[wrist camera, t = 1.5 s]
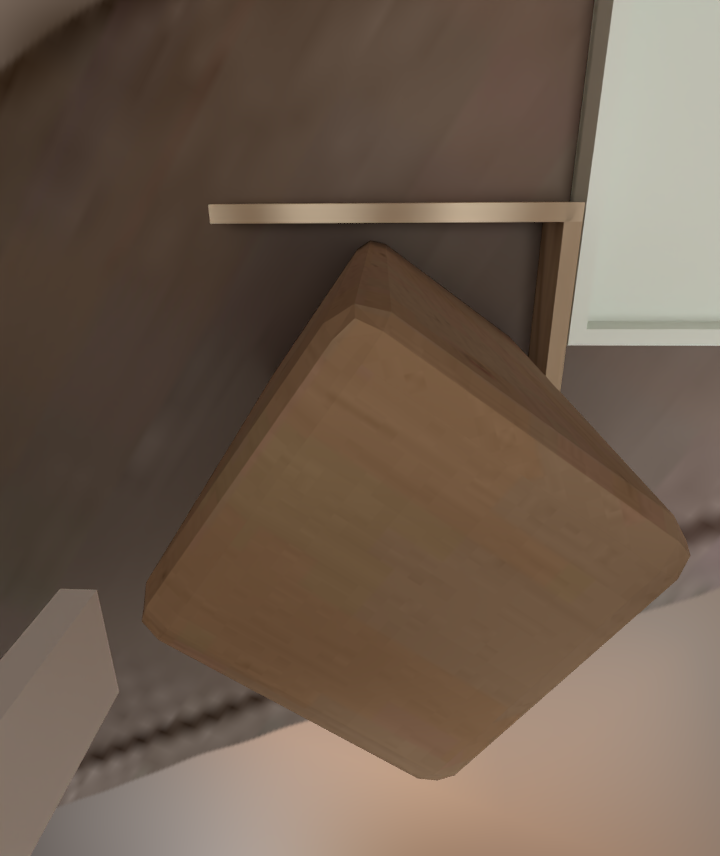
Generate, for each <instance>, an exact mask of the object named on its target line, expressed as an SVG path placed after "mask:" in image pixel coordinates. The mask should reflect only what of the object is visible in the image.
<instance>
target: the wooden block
mask: <svg viewBox="0 0 720 856" xmlns="http://www.w3.org/2000/svg"><path fill="white" fill-rule="evenodd" d="M689 557H690V553H689V549H688V545H687V542H686V539H685V537H684V535H683V533H682V531H681V529H680V527H679V525H678V523H677V521H676V519H675V517H674V515H673V514H672V513H671V512H670V511H669V510H668V509H667V508H666V507H665V506H664V504H663V503H662V502H661V501H660V500H659V499H658V498H657V497H656V496H655V495H654V494H653V492H652V491H651V490H650V489H649V488H648V487H647V486H646V485H645V484H644V483H643V482H642V481H641V479H640V478H639V477H638V476H637V475H636V474H635V473H634V472H633V471H632V470H631V469H630V467H629V466H628V465H627V464H626V463H625V462H624V461H623V460H622V459H621V458H620V457H619V455H618V454H617V453H616V452H615V451H614V450H613V449H612V448H611V447H610V446H609V445H608V444H607V442H606V441H605V440H604V439H603V438H602V437H601V436H600V435H599V434H598V433H597V432H596V430H595V429H594V428H593V427H592V426H591V425H590V424H589V423H588V422H587V421H586V420H585V418H584V417H583V416H582V415H581V414H580V413H579V412H578V411H577V410H576V409H575V408H574V407H573V405H572V404H571V403H570V402H569V401H568V400H567V399H566V398H565V397H564V396H563V395H562V393H561V392H560V391H559V390H558V389H557V388H556V387H555V386H554V385H553V384H552V383H551V382H550V380H549V379H548V378H547V377H546V376H545V375H544V374H543V373H542V372H541V371H540V370H539V368H538V367H537V366H536V365H535V364H534V363H533V362H532V361H531V360H530V359H529V358H528V356H527V355H526V354H525V353H524V352H523V351H522V350H521V349H520V348H519V347H518V346H517V345H516V343H515V342H514V341H513V340H512V339H511V338H510V337H509V336H508V335H506V334H505V333H504V332H502V331H501V330H500V329H498V328H497V327H496V326H494V325H493V324H491V323H490V322H489V321H487V320H486V319H485V318H483V317H482V316H481V315H479V314H478V313H477V312H475V311H474V310H473V309H471V308H470V307H469V306H467V305H466V304H465V303H463V302H462V301H461V300H459V299H458V298H457V297H455V296H454V295H453V294H451V293H450V292H449V291H447V290H446V289H445V288H443V287H442V286H441V285H439V284H438V283H437V282H435V281H434V280H433V279H431V278H430V277H429V276H427V275H426V274H425V273H423V272H422V271H421V270H419V269H418V268H417V267H415V266H414V265H413V264H411V263H410V262H409V261H407V260H406V259H405V258H403V257H402V256H400V255H399V254H398V253H396V252H395V251H394V250H392V249H391V248H390V247H388V246H387V245H386V244H382V243H378V242H374V241H369V242H368V243H366V244H365V245H363V246H362V247H360V248H359V249H357V251H356V252H355V254H354V255H353V257H352V258H351V260H350V261H349V263H348V264H347V266H346V267H345V269H344V270H343V272H342V273H341V275H340V276H339V278H338V279H337V281H336V282H335V284H334V285H333V287H332V288H331V290H330V291H329V293H328V294H327V295H326V297H325V298H324V300H323V301H322V303H321V304H320V306H319V307H318V309H317V310H316V312H315V313H314V315H313V316H312V318H311V319H310V321H309V322H308V324H307V325H306V327H305V328H304V330H303V331H302V333H301V334H300V336H299V337H298V339H297V340H296V342H295V343H294V345H293V346H292V348H291V349H290V351H289V352H288V354H287V355H286V357H285V358H284V360H283V361H282V362H281V364H280V365H279V367H278V368H277V370H276V371H275V373H274V374H273V376H272V378H271V379H270V381H269V383H268V384H267V386H266V387H265V389H264V391H263V392H262V394H261V396H260V397H259V399H258V401H257V402H256V404H255V405H254V407H253V409H252V410H251V412H250V414H249V415H248V417H247V419H246V420H245V422H244V423H243V425H242V427H241V428H240V430H239V432H238V433H237V435H236V437H235V438H234V440H233V441H232V443H231V445H230V446H229V448H228V450H227V451H226V453H225V455H224V456H223V458H222V459H221V461H220V463H219V464H218V466H217V468H216V469H215V471H214V473H213V474H212V476H211V478H210V479H209V481H208V482H207V484H206V486H205V487H204V489H203V491H202V492H201V494H200V496H199V497H198V499H197V500H196V502H195V504H194V505H193V507H192V509H191V510H190V512H189V514H188V515H187V517H186V518H185V520H184V522H183V523H182V525H181V527H180V528H179V530H178V532H177V533H176V535H175V536H174V538H173V540H172V541H171V543H170V545H169V546H168V548H167V550H166V551H165V553H164V554H163V556H162V558H161V559H160V561H159V563H158V564H157V566H156V568H155V569H154V571H153V572H152V574H151V576H150V577H149V579H148V581H147V582H146V591H145V601H144V610H143V617H142V622H143V623H144V624H145V625H146V626H147V628H148V629H149V630H150V631H151V632H152V633H153V634H154V635H155V636H156V638H157V639H158V640H160V641H162V642H164V643H166V644H167V645H169V646H171V647H173V648H175V649H177V650H179V651H180V652H182V653H184V654H186V655H188V656H190V657H192V658H194V659H195V660H197V661H199V662H201V663H203V664H205V665H207V666H209V667H210V668H212V669H214V670H216V671H218V672H220V673H222V674H224V675H225V676H227V677H229V678H231V679H233V680H235V681H237V682H238V683H240V684H242V685H244V686H246V687H248V688H250V689H252V690H253V691H255V692H257V693H259V694H261V695H263V696H265V697H267V698H268V699H270V700H272V701H274V702H276V703H278V704H280V705H281V706H283V707H285V708H287V709H289V710H291V711H293V712H295V713H296V714H298V715H300V716H302V717H304V718H306V719H308V720H310V721H311V722H313V723H315V724H317V725H319V726H321V727H323V728H324V729H326V730H328V731H330V732H332V733H334V734H336V735H338V736H339V737H341V738H343V739H345V740H347V741H349V742H351V743H353V744H354V745H356V746H358V747H360V748H362V749H364V750H366V751H367V752H369V753H371V754H373V755H375V756H377V757H379V758H381V759H383V760H384V761H386V762H388V763H390V764H392V765H394V766H396V767H398V768H399V769H401V770H403V771H405V772H407V773H409V774H411V775H413V776H415V777H416V778H419V779H429V780H440V779H443V778H447V777H450V776H454V775H455V774H456V773H458V772H459V771H460V770H461V769H462V768H463V767H464V766H465V765H467V764H468V763H469V762H470V761H471V760H472V759H473V758H475V757H476V756H477V755H478V754H479V753H480V752H481V751H483V750H484V749H485V748H486V747H487V746H488V745H489V744H491V743H492V742H493V741H494V740H495V739H496V738H497V737H499V736H500V735H501V734H502V733H503V732H504V731H505V730H507V729H508V728H509V727H510V726H511V725H512V724H513V723H515V721H516V720H518V719H519V718H520V717H521V716H523V715H524V714H525V713H526V712H527V711H528V710H529V709H530V708H531V707H533V706H534V705H535V704H536V703H537V702H538V701H539V700H541V699H542V698H543V697H544V696H545V695H546V694H547V693H549V692H550V691H551V690H552V689H553V688H554V687H556V686H557V685H558V684H559V683H560V682H561V681H562V680H563V679H565V678H566V677H567V676H568V675H569V674H570V673H571V672H573V671H574V670H575V669H576V668H577V667H578V666H579V665H580V664H582V663H583V662H584V661H585V660H586V659H587V658H589V657H590V656H591V655H592V654H593V653H594V652H595V651H597V650H598V649H599V648H600V647H601V646H602V645H603V644H604V643H606V642H607V641H608V640H609V639H610V638H611V637H612V636H614V635H615V634H616V633H617V632H618V631H619V630H620V629H622V628H623V627H624V626H625V625H626V624H627V623H628V622H630V621H631V620H632V619H633V618H634V617H635V616H636V615H637V614H639V613H640V612H641V611H642V610H643V609H644V608H645V607H647V606H648V605H649V604H650V603H651V602H652V601H653V600H655V599H656V598H657V597H658V596H659V595H660V594H661V593H663V592H664V591H665V590H666V589H667V588H668V587H669V586H670V585H672V584H673V583H674V582H675V581H676V580H677V579H678V578H679V576H680V574H681V572H682V570H683V568H684V566H685V565H686V563H687V561H688V559H689Z"/></svg>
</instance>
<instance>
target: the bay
mask: <svg viewBox="0 0 720 856" xmlns="http://www.w3.org/2000/svg"><path fill="white" fill-rule="evenodd" d="M208 207H209V217H210V224H232V223H428V222H543V227H542V237H541V246H540V255H539V265H538V274H537V283H536V292H535V302H534V311H533V320H532V329H531V339H530V348H529V357H528V358H529V359H530V360H531V361H532V362H533V363H534V364H535V365H536V366H537V367H538V368H539V370H540V371H541V372H542V373H543V374H544V375H545V376H546V377H547V378H548V379H549V380H550V382H551V383H552V384H553V385H554V386H555V387H556V388H557V389H558V390H559V391H560V389H561V381H562V374H563V366H564V359H565V351H566V344H567V336H568V329H569V321H570V313H571V306H572V298H573V291H574V283H575V276H576V268H577V261H578V253H579V245H580V238H581V230H582V223H583V215H584V208H585V202H429V203H271V204H210V205H208Z"/></svg>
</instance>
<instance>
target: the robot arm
mask: <svg viewBox="0 0 720 856" xmlns="http://www.w3.org/2000/svg"><path fill="white" fill-rule="evenodd" d="M118 693H119V689H118V684H117V680H116V675H115V671H114V666H113V661H112V657H111V652H110V648H109V643H108V639H107V634H106V629H105V625H104V620H103V616H102V611H101V607H100V602H99V597H98V593H97V590H88V589H59V591H58V592H57V593H56V594H55V595H54V597H53V598H52V599H51V600H50V601H49V603H48V604H47V605H46V606H45V607H44V609H43V610H42V611H41V612H40V613H39V615H38V616H37V617H36V618H35V619H34V621H33V622H32V623H31V624H30V625H29V627H28V628H27V629H26V630H25V631H24V633H23V634H22V635H21V636H20V637H19V639H18V640H17V641H16V642H15V643H14V645H13V646H12V647H11V648H10V649H9V651H8V652H7V653H6V654H5V655H4V656H3V658H2V659H1V660H0V856H30V855H31V854H32V852H33V850H34V848H35V846H36V844H37V843H38V841H39V839H40V837H41V835H42V833H43V831H44V830H45V828H46V826H47V824H48V822H49V820H50V819H51V817H52V815H53V813H54V811H55V809H56V808H57V806H58V804H59V802H60V800H61V798H62V796H63V795H64V793H65V791H66V789H67V787H68V785H69V784H70V782H71V780H72V778H73V776H74V774H75V772H76V771H77V769H78V767H79V765H80V763H81V761H82V760H83V758H84V756H85V754H86V752H87V750H88V748H89V747H90V745H91V743H92V741H93V739H94V737H95V736H96V734H97V732H98V730H99V728H100V726H101V724H102V723H103V721H104V719H105V717H106V715H107V713H108V712H109V710H110V708H111V706H112V704H113V702H114V700H115V699H116V697H117V695H118Z"/></svg>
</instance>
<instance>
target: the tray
mask: <svg viewBox="0 0 720 856" xmlns="http://www.w3.org/2000/svg"><path fill="white" fill-rule="evenodd" d="M570 202H585V208H584V215H583V223H582V230H581V238H580V245H579V253H578V261H577V268H576V276H575V283H574V291H573V298H572V306H571V313H570V321H569V329H568V336H567V345H663V346H720V0H595V1H594V9H593V17H592V26H591V34H590V42H589V50H588V58H587V66H586V74H585V83H584V91H583V99H582V107H581V115H580V123H579V131H578V140H577V148H576V156H575V164H574V172H573V180H572V188H571V197H570Z"/></svg>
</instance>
